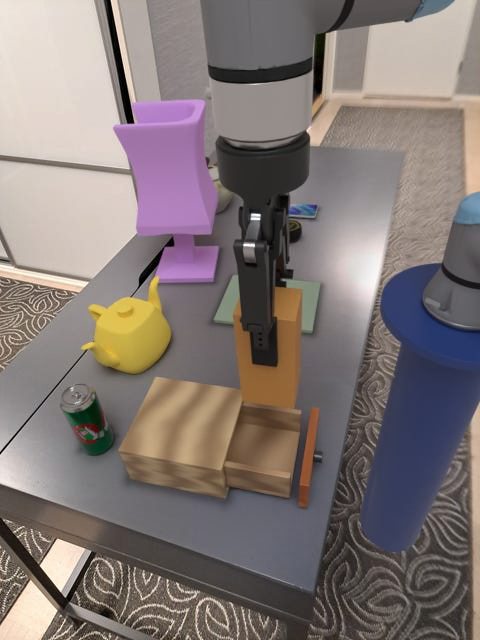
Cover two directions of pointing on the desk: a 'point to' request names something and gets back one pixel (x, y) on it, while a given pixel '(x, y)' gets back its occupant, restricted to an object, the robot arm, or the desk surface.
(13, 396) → the desk surface
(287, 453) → the drawer
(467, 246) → the robot arm
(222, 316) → the mat
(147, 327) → the teapot
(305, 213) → the smartphone
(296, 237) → the tape measure
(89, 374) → the desk surface
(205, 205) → the vase
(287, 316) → the orange rectangular block
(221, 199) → the sugar bowl
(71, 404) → the soda can
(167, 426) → the cabinet
